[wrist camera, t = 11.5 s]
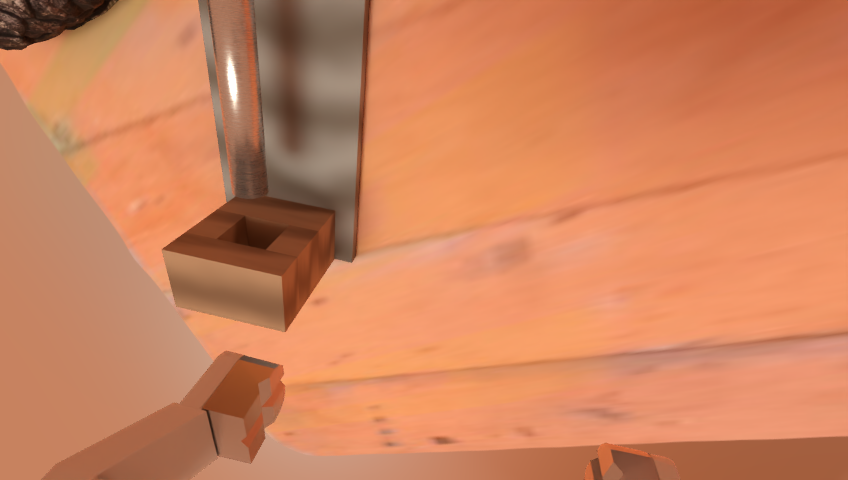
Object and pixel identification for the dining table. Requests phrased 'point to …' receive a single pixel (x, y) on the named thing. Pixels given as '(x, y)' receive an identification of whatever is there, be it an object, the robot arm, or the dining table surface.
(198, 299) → the eye post
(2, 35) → the pine cone
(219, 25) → the hook rod
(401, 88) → the dining table surface
